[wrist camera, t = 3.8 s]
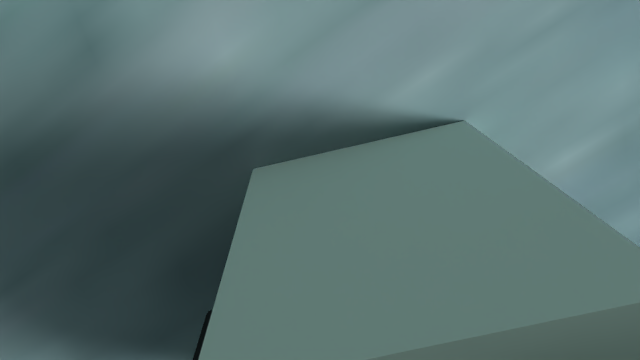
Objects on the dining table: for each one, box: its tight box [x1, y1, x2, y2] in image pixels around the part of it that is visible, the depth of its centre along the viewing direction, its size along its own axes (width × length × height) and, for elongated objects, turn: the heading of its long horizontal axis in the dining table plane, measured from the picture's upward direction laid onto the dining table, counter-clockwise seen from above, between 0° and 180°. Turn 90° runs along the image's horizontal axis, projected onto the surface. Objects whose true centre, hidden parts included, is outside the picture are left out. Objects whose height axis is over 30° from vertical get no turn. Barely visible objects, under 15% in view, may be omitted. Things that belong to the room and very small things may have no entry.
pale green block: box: [198, 121, 640, 360], centre depth 9 cm, size 6×5×7 cm
